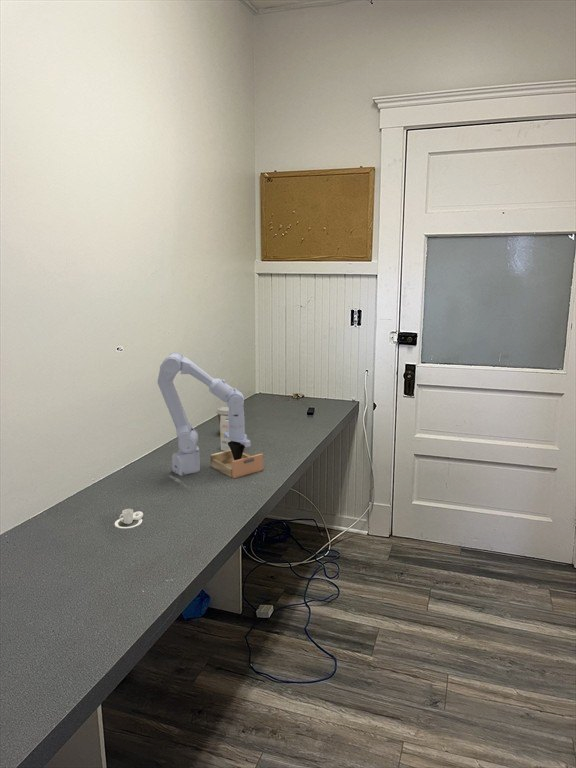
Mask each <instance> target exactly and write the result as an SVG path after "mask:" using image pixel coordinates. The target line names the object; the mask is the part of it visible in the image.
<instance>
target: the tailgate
mask: <svg viewBox="0 0 576 768" xmlns="http://www.w3.org/2000/svg"><path fill="white" fill-rule="evenodd" d="M260 471H264V454H263V453H258V454H257V453H256V454H254V455H250V457H246V458H242V459H239V460H235V461H232V479H236V478H240V477H244V476H247V475H250V474H254V473H257V472H260Z"/></svg>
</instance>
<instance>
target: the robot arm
mask: <svg viewBox="0 0 576 768" xmlns="http://www.w3.org/2000/svg"><path fill="white" fill-rule="evenodd" d="M179 372H180V375H190V376H192V377H193V378H195V379H196V380H198V381H200V382H201V383H203V384H204V385H205V386H207V387H208V390H209V392H210V393H211V394H212V395H214V397H217V398H218V399H220V400H221V401H222V402H224V403H226V406H228V407H229V412H228V423H229V432H224V438H228V439H229V440H230V441H231V442H228V446H229V447H230V449H231V452H232V455H233V458H234V461H235V460H239V459H241V458H242V454H243V453H244V451H245V448H248V447H251V446H252V441H251V440H250V439H248V434H246V431H245V430H246V427H245V426H246V425H245V423H246V422H245V412H244V410H245V407H244V405H245V396H244V394H243V393H242V392H241V390H239V389H237V388H236V387H232V386H231V385H229V384H228V383H226V380H225V379H224V378H222V379H221V378H219V377H218V378H214V377H212V376H211V375H209V373H207V372H206V371H204V370H203V369H202V368H201V367H199V365H196V364H195V362H193V361H192V360H191V359H189V358H188V357H186V356H183V355H182V354H181V353H180V352H176V351H175V352H171V353H169V355H168V356H167V357H165V358H164V360H163V361H162V363H161V364H160V365H159V373H158V377H157V385H158V388H159V390H160V392H161V395H162V397H163V399H164V402H165V404H166V408H167V409H168V412H169V415H170V417H171V419H172V422H173V425H174V427H175V431H176V437H177V441H178V443H177V446H178V447H177V448H178V451H177V452H174V453H173V454H172V456H171V462H172V463H171V464H172V465H171V466H172V472H173V473H174V474H177V475H179V476H181V477H182V476H185V475H190V474H194V473H198V472H199V471H200V470H201V462H200V461H201V459H200V447H199V446H198V444H197V443H198V441H199V438H200V437H199V432H197V430H195V428H194V427H193V425H192V424H191V423H190V421H189V419H188V416H187V413H186V411H185V409H184V406H183V404H182V401H181V399H180V396H179V394H178V391H177V390H176V386H175V384H174V380H175V378H176V377H177V374H178V373H179Z"/></svg>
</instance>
